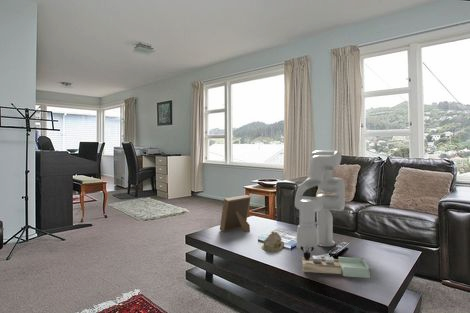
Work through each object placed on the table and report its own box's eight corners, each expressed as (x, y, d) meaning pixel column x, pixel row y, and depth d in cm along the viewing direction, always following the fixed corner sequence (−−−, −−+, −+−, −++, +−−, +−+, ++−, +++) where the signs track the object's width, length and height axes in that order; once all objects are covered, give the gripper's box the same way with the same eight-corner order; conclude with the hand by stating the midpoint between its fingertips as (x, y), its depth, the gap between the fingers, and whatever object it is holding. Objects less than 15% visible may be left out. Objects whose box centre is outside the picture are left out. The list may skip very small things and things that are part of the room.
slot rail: (302, 264, 146) (302, 257, 146) (338, 266, 143) (338, 259, 143) (303, 271, 138) (303, 263, 138) (341, 274, 135) (341, 266, 135)
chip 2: (324, 262, 142) (324, 256, 142) (332, 262, 141) (332, 256, 141) (325, 265, 138) (325, 259, 138) (334, 265, 137) (334, 259, 137)
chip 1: (312, 261, 143) (312, 255, 143) (320, 261, 142) (320, 256, 142) (313, 264, 139) (313, 258, 139) (321, 265, 138) (321, 259, 138)
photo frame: (219, 230, 204) (219, 197, 202) (241, 225, 218) (242, 193, 216) (232, 236, 192) (232, 200, 191) (255, 229, 206) (255, 196, 205)
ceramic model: (272, 253, 161) (272, 236, 161) (258, 248, 170) (258, 232, 169) (287, 247, 171) (287, 231, 171) (273, 242, 179) (272, 227, 179)
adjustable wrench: (340, 249, 168) (340, 246, 168) (350, 252, 163) (350, 249, 163) (314, 259, 153) (314, 256, 153) (324, 263, 148) (324, 260, 148)
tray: (338, 265, 145) (338, 256, 144) (362, 266, 143) (363, 258, 142) (343, 276, 133) (343, 266, 133) (370, 278, 131) (370, 268, 131)
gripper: (321, 222, 143) (321, 257, 144) (291, 221, 146) (291, 255, 146) (323, 226, 136) (323, 263, 136) (292, 225, 138) (292, 261, 139)
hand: (307, 259), depth 141 cm, fingers closed
